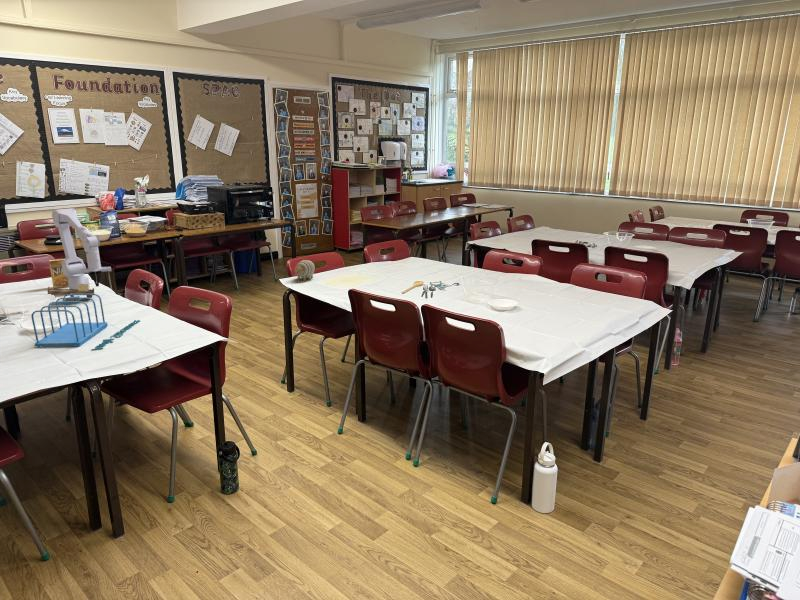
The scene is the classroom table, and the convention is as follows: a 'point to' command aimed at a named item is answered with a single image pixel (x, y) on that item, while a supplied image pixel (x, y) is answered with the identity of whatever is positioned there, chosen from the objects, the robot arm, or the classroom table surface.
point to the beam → (68, 291)
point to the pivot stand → (72, 299)
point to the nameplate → (115, 336)
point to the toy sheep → (305, 269)
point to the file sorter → (69, 326)
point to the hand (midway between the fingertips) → (97, 286)
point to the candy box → (58, 274)
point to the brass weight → (82, 287)
